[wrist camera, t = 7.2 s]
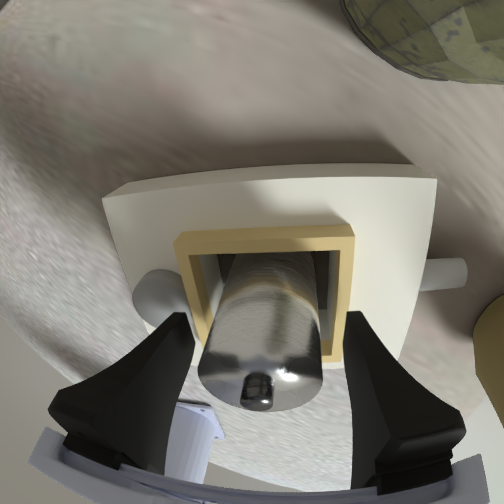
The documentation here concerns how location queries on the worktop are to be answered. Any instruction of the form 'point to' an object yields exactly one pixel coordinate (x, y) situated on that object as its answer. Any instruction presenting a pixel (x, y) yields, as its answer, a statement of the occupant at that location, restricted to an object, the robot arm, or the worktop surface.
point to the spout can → (265, 334)
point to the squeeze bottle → (491, 353)
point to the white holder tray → (284, 241)
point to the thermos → (434, 36)
